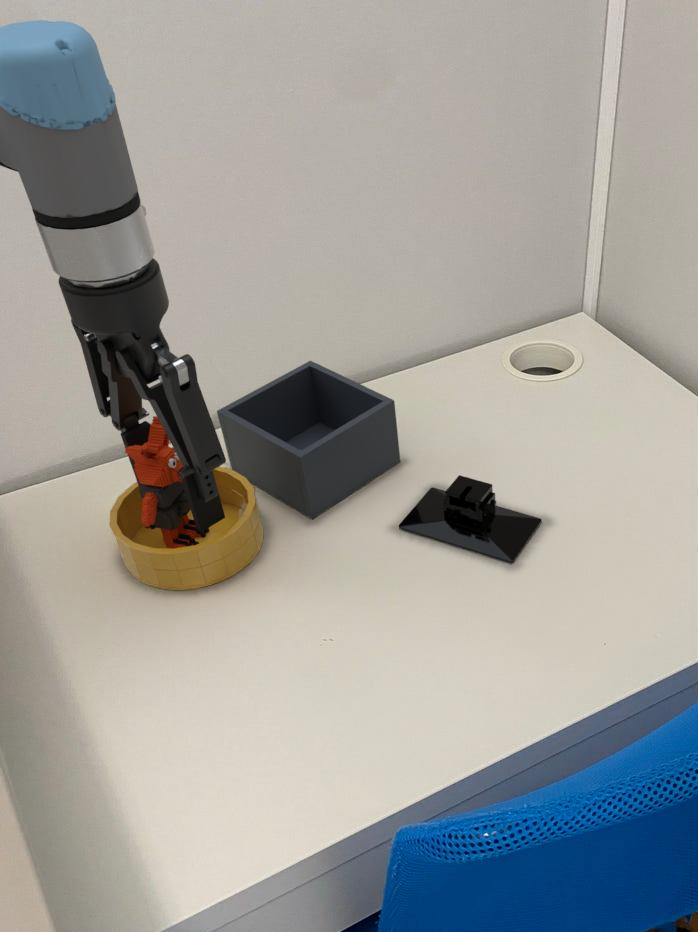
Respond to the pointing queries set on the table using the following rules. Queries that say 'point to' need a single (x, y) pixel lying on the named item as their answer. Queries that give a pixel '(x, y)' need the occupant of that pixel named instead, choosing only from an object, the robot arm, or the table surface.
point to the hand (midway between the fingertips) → (182, 504)
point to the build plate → (471, 520)
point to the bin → (311, 437)
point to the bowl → (206, 561)
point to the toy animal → (163, 489)
